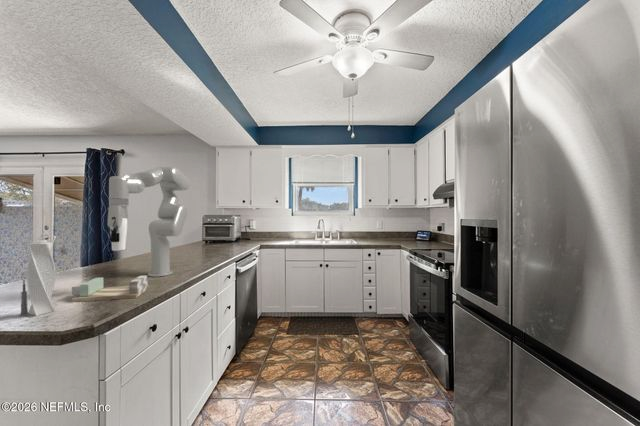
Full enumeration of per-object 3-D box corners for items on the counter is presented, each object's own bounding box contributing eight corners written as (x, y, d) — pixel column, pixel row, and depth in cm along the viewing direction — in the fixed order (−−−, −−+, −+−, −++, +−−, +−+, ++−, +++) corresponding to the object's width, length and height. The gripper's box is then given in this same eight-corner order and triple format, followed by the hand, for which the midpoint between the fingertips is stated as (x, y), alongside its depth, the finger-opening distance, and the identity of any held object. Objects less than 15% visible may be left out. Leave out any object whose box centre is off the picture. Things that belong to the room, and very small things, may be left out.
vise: (92, 291, 132) (92, 277, 131) (148, 288, 137) (148, 274, 137) (71, 302, 116) (71, 286, 116) (136, 297, 122) (135, 282, 122)
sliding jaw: (85, 288, 130) (85, 278, 130) (103, 287, 131) (103, 277, 131) (68, 297, 117) (68, 285, 117) (88, 295, 119) (88, 284, 119)
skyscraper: (48, 308, 110) (48, 235, 110) (61, 310, 107) (61, 235, 107) (19, 315, 102) (18, 237, 102) (32, 318, 99) (31, 237, 99)
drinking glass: (130, 250, 136) (130, 218, 136) (113, 251, 130) (113, 218, 130) (123, 249, 139) (123, 218, 139) (107, 250, 134) (107, 218, 134)
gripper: (118, 203, 142) (118, 239, 142) (100, 202, 125) (99, 243, 125) (135, 203, 144) (135, 239, 144) (119, 202, 127) (119, 242, 127)
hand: (118, 240), depth 135 cm, fingers closed on drinking glass, 6 cm apart
